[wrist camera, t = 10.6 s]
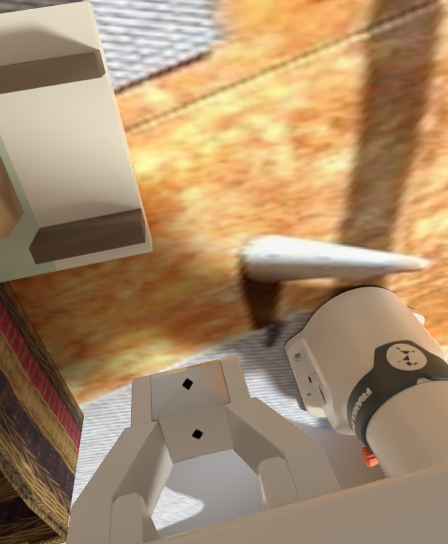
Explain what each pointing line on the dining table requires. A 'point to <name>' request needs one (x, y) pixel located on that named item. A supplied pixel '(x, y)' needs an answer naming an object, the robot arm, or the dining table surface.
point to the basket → (33, 433)
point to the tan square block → (8, 204)
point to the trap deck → (62, 140)
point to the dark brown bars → (85, 232)
